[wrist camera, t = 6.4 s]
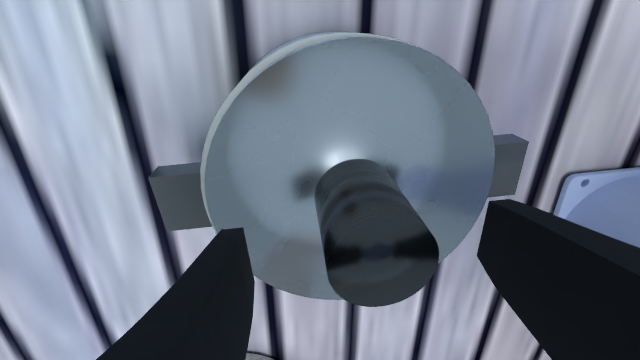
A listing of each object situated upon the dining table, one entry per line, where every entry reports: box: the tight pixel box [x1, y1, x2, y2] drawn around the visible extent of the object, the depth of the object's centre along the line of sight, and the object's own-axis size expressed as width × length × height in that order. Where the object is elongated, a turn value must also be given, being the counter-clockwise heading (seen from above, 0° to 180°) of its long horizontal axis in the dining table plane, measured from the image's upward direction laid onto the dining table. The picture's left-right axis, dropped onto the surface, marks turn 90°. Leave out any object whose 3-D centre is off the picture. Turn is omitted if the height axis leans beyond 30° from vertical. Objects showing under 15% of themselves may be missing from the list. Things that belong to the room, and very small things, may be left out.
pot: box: [148, 32, 529, 234], centre depth 14 cm, size 15×11×5 cm
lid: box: [205, 36, 495, 307], centre depth 9 cm, size 10×10×4 cm
